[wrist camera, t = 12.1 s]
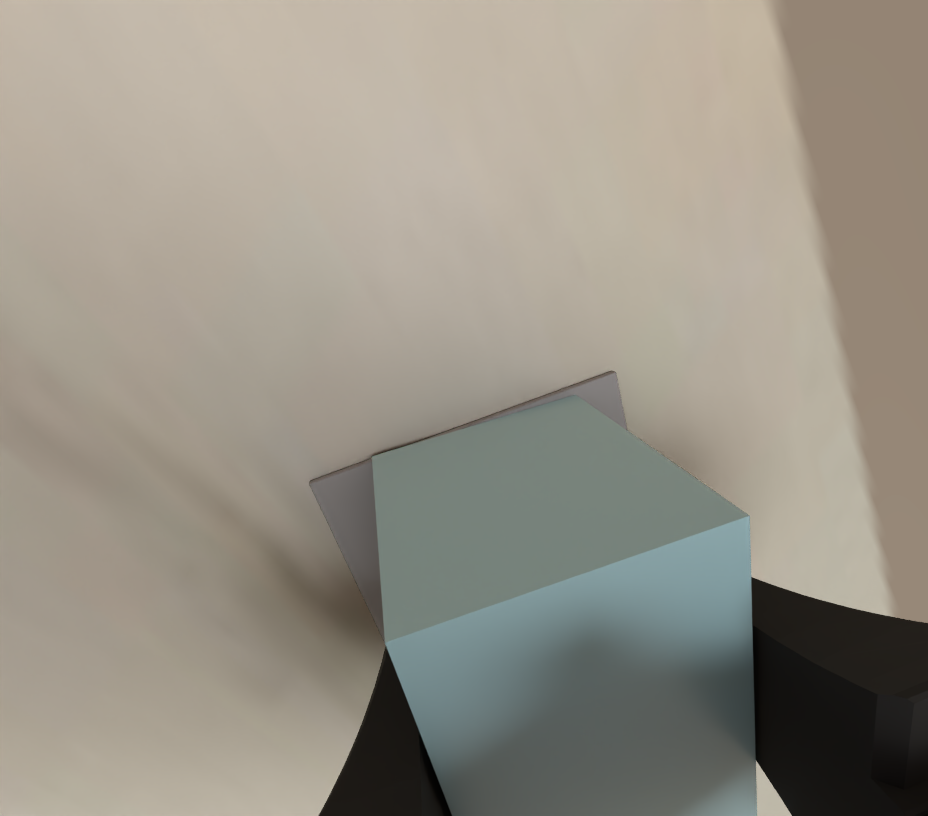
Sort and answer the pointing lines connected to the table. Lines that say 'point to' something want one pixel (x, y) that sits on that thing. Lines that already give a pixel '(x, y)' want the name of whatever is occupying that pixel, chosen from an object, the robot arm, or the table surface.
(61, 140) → the table surface
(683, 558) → the light blue upright block
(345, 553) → the tape square
